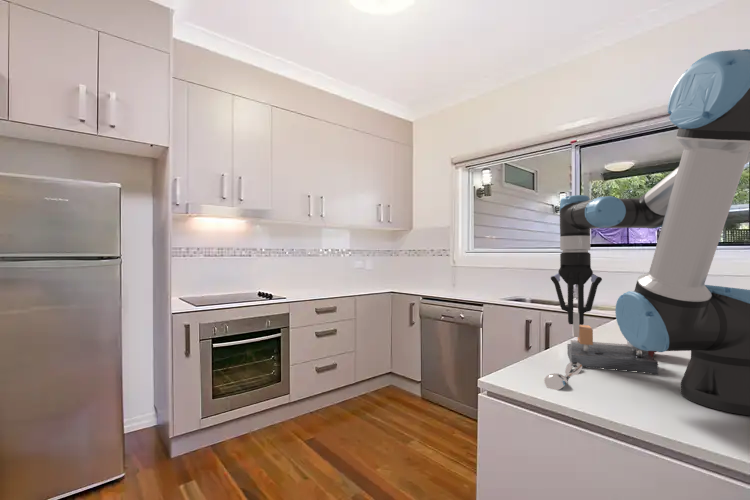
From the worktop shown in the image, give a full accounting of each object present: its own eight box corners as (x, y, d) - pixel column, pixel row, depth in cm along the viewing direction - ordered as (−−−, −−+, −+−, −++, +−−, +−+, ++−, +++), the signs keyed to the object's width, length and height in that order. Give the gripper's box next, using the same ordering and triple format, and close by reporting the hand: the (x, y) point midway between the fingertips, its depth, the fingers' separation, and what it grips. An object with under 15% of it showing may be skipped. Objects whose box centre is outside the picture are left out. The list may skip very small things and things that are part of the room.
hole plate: (657, 374, 95) (657, 361, 95) (571, 365, 102) (571, 354, 102) (643, 360, 107) (643, 349, 107) (567, 353, 114) (567, 343, 114)
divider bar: (651, 358, 98) (651, 334, 98) (572, 351, 105) (572, 329, 105) (644, 352, 104) (644, 330, 104) (570, 346, 111) (570, 325, 111)
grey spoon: (566, 353, 102) (586, 356, 98) (567, 366, 102) (586, 370, 99) (541, 376, 87) (563, 380, 83) (541, 392, 87) (564, 397, 84)
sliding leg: (592, 352, 103) (592, 330, 103) (580, 351, 104) (580, 329, 104) (589, 346, 110) (589, 325, 110) (577, 345, 111) (577, 324, 111)
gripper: (599, 251, 109) (600, 335, 109) (548, 251, 114) (549, 332, 113) (604, 251, 102) (605, 340, 102) (550, 251, 107) (551, 337, 106)
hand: (575, 336), depth 108 cm, fingers closed
